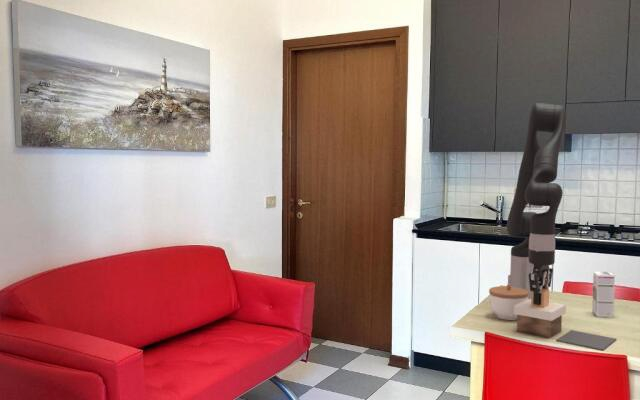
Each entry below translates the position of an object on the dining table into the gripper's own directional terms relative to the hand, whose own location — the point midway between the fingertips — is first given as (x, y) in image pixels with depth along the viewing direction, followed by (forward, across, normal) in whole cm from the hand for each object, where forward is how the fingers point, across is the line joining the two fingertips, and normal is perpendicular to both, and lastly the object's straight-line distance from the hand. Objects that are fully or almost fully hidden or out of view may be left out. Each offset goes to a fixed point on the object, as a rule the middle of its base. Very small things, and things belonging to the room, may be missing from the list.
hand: (540, 303), depth 187 cm
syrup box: (+9, -33, +9) cm, 35 cm away
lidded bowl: (+9, -9, -14) cm, 19 cm away
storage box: (+9, 0, 0) cm, 9 cm away
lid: (+3, 0, 0) cm, 3 cm away
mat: (+9, 0, +14) cm, 17 cm away
